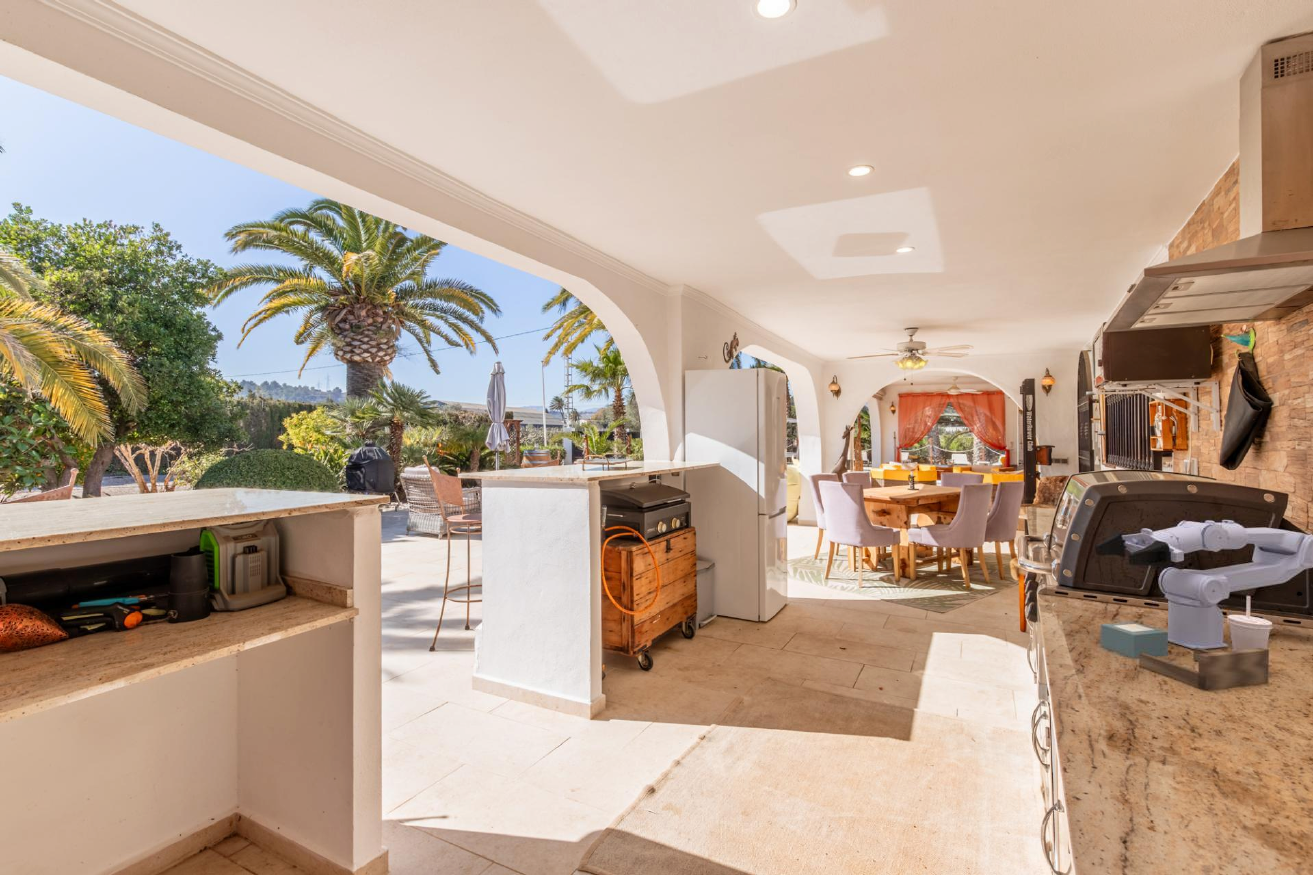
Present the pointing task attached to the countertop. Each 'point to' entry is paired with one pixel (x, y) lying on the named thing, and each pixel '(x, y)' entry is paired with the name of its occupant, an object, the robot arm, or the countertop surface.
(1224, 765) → the countertop surface
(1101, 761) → the countertop surface
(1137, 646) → the carton
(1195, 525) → the robot arm
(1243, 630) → the smoothie
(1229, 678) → the display stand
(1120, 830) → the countertop surface
